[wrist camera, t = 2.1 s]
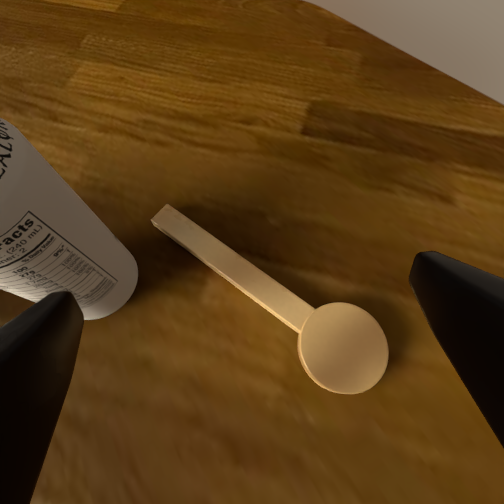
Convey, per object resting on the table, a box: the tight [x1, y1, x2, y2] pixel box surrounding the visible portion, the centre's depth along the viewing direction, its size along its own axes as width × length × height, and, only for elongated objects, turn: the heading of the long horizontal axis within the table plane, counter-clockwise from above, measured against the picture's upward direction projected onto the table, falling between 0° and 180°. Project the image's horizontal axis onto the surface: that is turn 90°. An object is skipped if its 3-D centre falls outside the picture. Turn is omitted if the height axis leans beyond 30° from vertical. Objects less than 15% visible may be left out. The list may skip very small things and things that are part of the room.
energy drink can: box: [0, 118, 138, 320], centre depth 16 cm, size 6×6×15 cm
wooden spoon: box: [151, 204, 389, 394], centre depth 23 cm, size 20×6×1 cm, turn 53°
